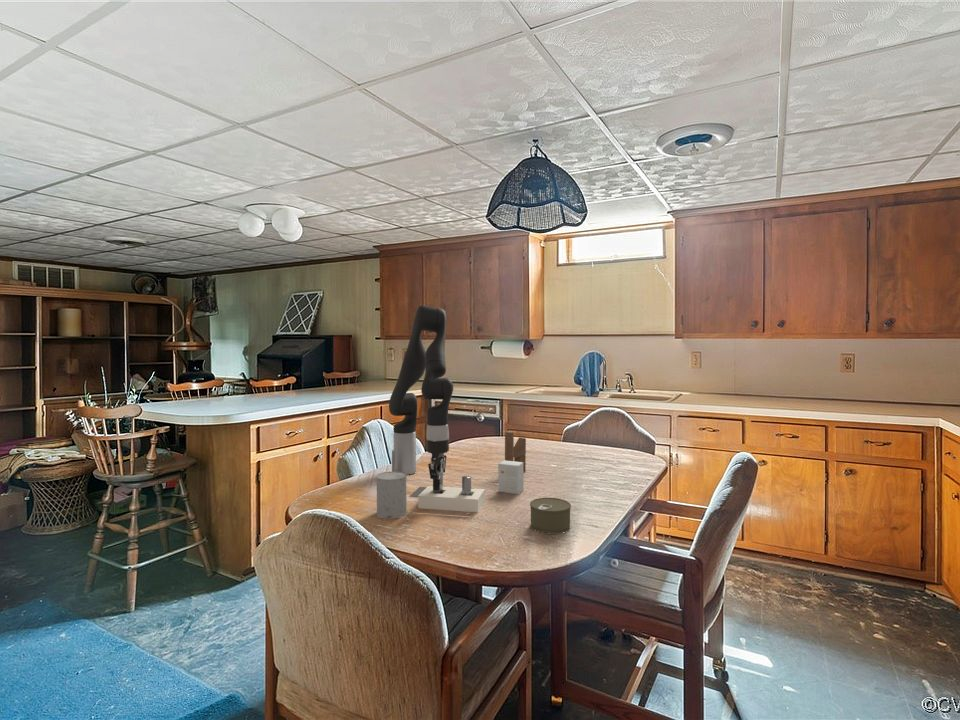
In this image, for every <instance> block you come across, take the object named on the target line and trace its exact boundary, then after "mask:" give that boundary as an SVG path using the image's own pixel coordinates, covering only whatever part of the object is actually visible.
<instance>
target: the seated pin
mask: <svg viewBox="0 0 960 720" xmlns="http://www.w3.org/2000/svg"><path fill="white" fill-rule="evenodd" d="M461 488H462V495H466V496H471V489H472V476H471V475H463V476H462V477H461Z"/></svg>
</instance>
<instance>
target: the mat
mask: <svg viewBox="0 0 960 720" xmlns="http://www.w3.org/2000/svg"><path fill="white" fill-rule="evenodd" d="M427 487H428V486H419V487H418V488H416V490H415V491H413V492H412V493H411V495H409V496H408V497H409V498H418V495H419V494H420V493H421V492H422V491H424V490H425V489H426V488H427Z"/></svg>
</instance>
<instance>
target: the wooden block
mask: <svg viewBox="0 0 960 720" xmlns="http://www.w3.org/2000/svg"><path fill="white" fill-rule="evenodd" d="M514 434H515V433H514V431H512V430H506V431H505V432H504V460H505V461H515V462H523V473H525V472H526V467H527V466H526V465H527V464H526V461H527V460H526V454H527V450H526V447H527V444H526V443H527V441H526V440H527V439H526V437H519V436H518V438H517V441H516V443H514V440H515V439H514V436H515V435H514Z"/></svg>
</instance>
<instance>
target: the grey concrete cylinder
mask: <svg viewBox="0 0 960 720" xmlns="http://www.w3.org/2000/svg"><path fill="white" fill-rule="evenodd" d="M375 476H376V477H375V478H376V517H377V518H380V519H385V520H393V519H398V518H403V517H405V516H406V515H407V513H408V510H407V506H408V503H407V497H408V496H407V476H408V475H406V473H403V472H392V471H385V472H384V471H383V472H380V473H377V474H376V475H375ZM404 515H405V516H404Z"/></svg>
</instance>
